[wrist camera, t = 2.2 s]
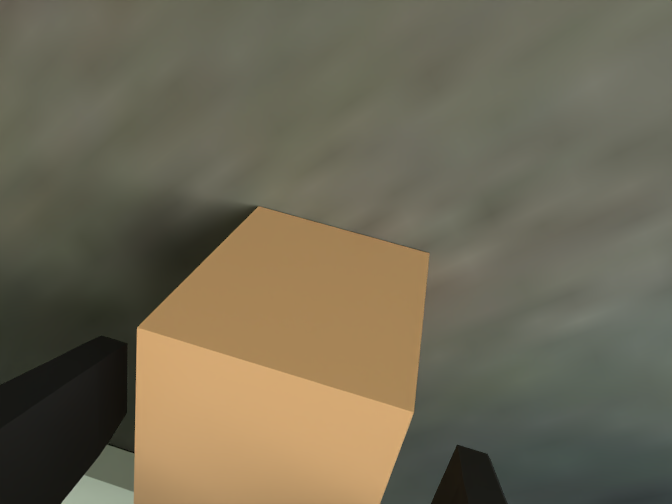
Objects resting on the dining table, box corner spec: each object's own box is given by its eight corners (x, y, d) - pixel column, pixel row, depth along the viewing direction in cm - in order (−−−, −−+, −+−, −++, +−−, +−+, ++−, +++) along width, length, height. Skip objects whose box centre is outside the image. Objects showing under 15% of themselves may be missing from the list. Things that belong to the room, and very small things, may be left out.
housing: (429, 253, 11) (414, 412, 7) (358, 470, 14) (316, 673, 10) (258, 206, 11) (136, 327, 7) (227, 428, 15) (131, 605, 10)
